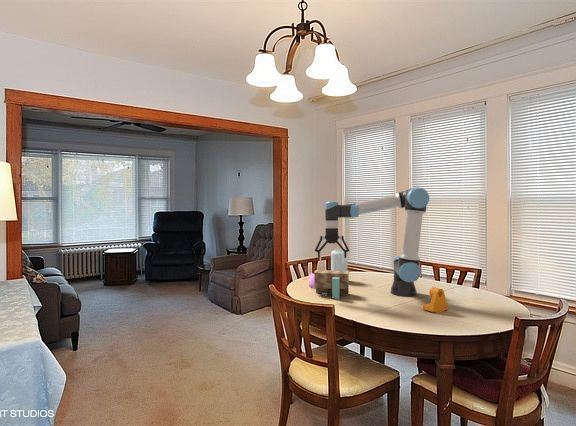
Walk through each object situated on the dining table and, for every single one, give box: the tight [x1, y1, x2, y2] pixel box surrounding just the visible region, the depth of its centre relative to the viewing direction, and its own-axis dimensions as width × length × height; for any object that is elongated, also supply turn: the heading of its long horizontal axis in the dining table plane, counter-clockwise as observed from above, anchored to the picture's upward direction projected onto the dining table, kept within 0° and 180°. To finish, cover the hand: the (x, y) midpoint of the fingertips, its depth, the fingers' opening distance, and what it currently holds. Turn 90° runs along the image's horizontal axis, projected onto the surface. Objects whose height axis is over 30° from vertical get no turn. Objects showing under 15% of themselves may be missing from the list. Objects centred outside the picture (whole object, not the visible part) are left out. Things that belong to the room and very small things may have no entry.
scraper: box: [331, 277, 341, 300], centre depth 222 cm, size 4×11×12 cm, turn 167°
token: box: [321, 291, 330, 296], centre depth 227 cm, size 4×4×2 cm
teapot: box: [308, 273, 315, 289], centre depth 247 cm, size 18×10×10 cm, turn 33°
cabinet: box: [313, 269, 350, 295], centre depth 228 cm, size 21×8×14 cm, turn 77°
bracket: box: [422, 286, 448, 314], centre depth 193 cm, size 11×7×12 cm, turn 117°
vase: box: [330, 249, 348, 271], centre depth 266 cm, size 12×12×22 cm
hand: (332, 263), depth 220 cm, fingers open, 13 cm apart
